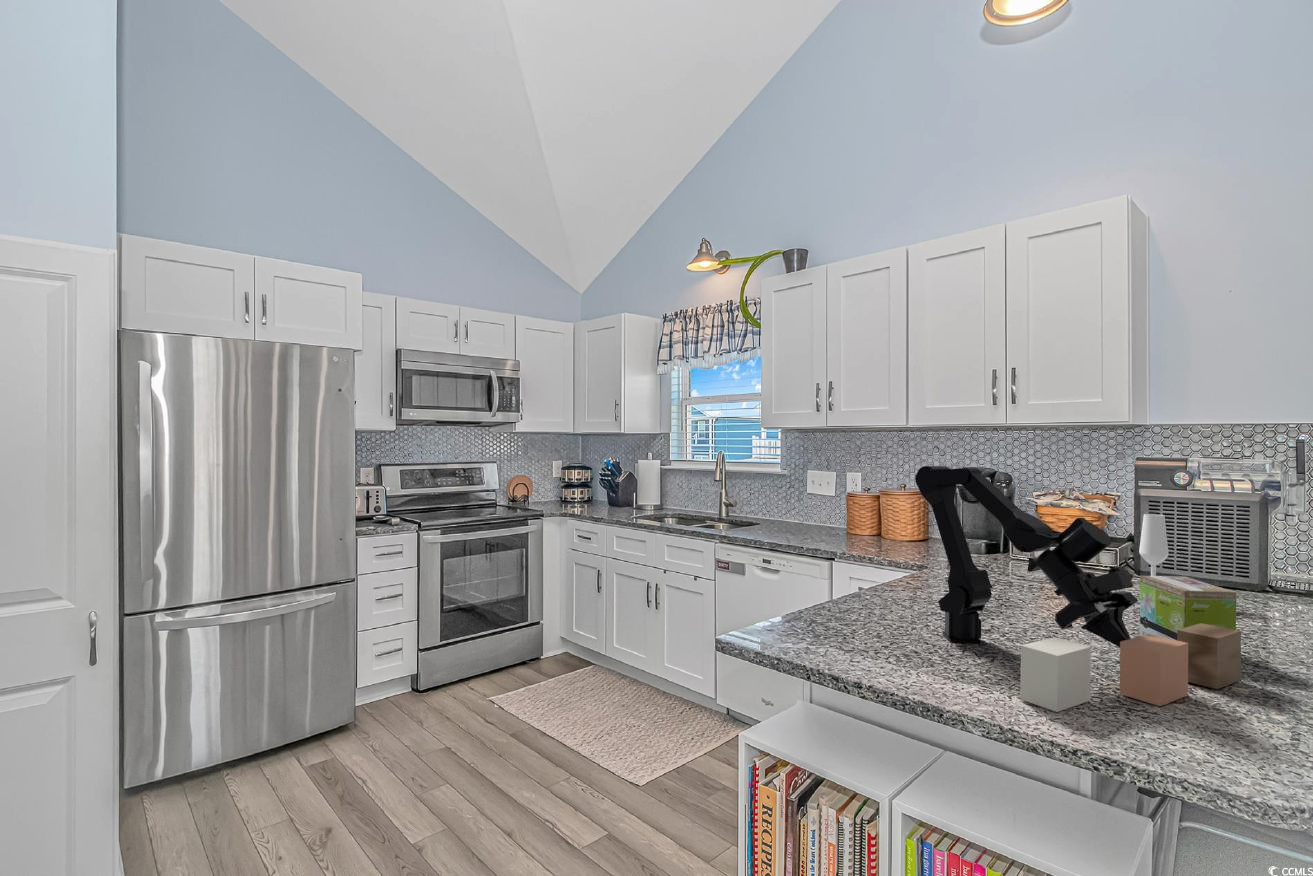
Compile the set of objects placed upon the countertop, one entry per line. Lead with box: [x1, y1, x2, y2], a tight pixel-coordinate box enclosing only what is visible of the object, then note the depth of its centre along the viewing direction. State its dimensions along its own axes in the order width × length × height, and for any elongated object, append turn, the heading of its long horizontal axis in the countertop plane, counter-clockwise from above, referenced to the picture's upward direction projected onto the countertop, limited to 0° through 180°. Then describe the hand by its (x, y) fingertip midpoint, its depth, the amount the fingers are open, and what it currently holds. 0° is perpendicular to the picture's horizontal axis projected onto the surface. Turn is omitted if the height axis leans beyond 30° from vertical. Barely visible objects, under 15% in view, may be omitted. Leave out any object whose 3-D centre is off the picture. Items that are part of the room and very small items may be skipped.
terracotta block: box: [1119, 634, 1189, 707], centre depth 113 cm, size 6×10×9 cm, turn 120°
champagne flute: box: [1138, 513, 1170, 576], centre depth 187 cm, size 7×7×24 cm
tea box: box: [1139, 574, 1237, 640], centre depth 139 cm, size 15×10×15 cm, turn 174°
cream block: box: [1019, 637, 1092, 713], centre depth 110 cm, size 6×10×9 cm, turn 120°
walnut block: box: [1177, 623, 1242, 690], centre depth 121 cm, size 6×10×9 cm, turn 120°
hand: (1132, 651), depth 116 cm, fingers closed, pressing on terracotta block
